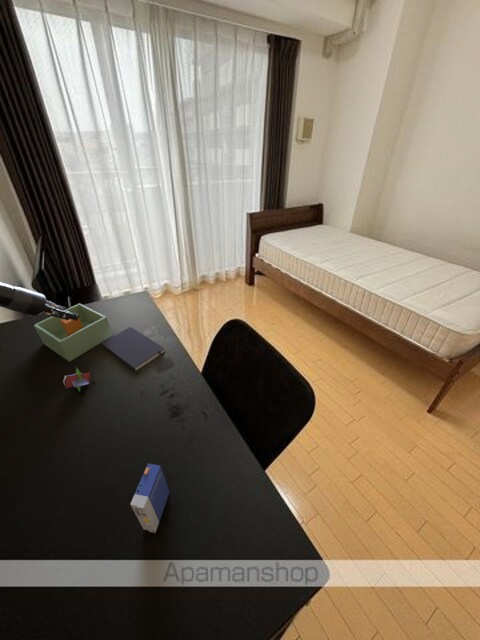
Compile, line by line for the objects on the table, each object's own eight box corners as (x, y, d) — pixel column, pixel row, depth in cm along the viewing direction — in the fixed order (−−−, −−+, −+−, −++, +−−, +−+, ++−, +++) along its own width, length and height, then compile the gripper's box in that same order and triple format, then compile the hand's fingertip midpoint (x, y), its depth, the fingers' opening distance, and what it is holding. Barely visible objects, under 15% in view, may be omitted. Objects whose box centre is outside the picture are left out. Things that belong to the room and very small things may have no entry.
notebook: (101, 345, 105) (135, 371, 94) (100, 342, 104) (134, 368, 93) (131, 329, 113) (165, 351, 102) (130, 326, 112) (165, 348, 101)
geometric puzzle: (92, 367, 93) (69, 360, 86) (100, 378, 89) (77, 372, 82) (78, 386, 92) (54, 380, 86) (86, 398, 88) (62, 393, 82)
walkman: (158, 490, 64) (147, 462, 57) (169, 492, 64) (160, 464, 57) (142, 531, 58) (128, 505, 51) (155, 533, 57) (142, 508, 50)
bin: (43, 343, 107) (33, 325, 101) (86, 321, 118) (79, 303, 113) (69, 361, 98) (59, 342, 93) (112, 335, 110) (106, 316, 105)
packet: (69, 339, 107) (60, 320, 102) (81, 333, 110) (73, 314, 105) (74, 343, 105) (65, 323, 100) (86, 336, 109) (78, 316, 104)
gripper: (40, 296, 85) (87, 310, 100) (18, 283, 92) (65, 298, 106) (29, 319, 85) (78, 330, 99) (7, 304, 91) (56, 317, 106)
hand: (71, 314), depth 103 cm, fingers open, 8 cm apart
